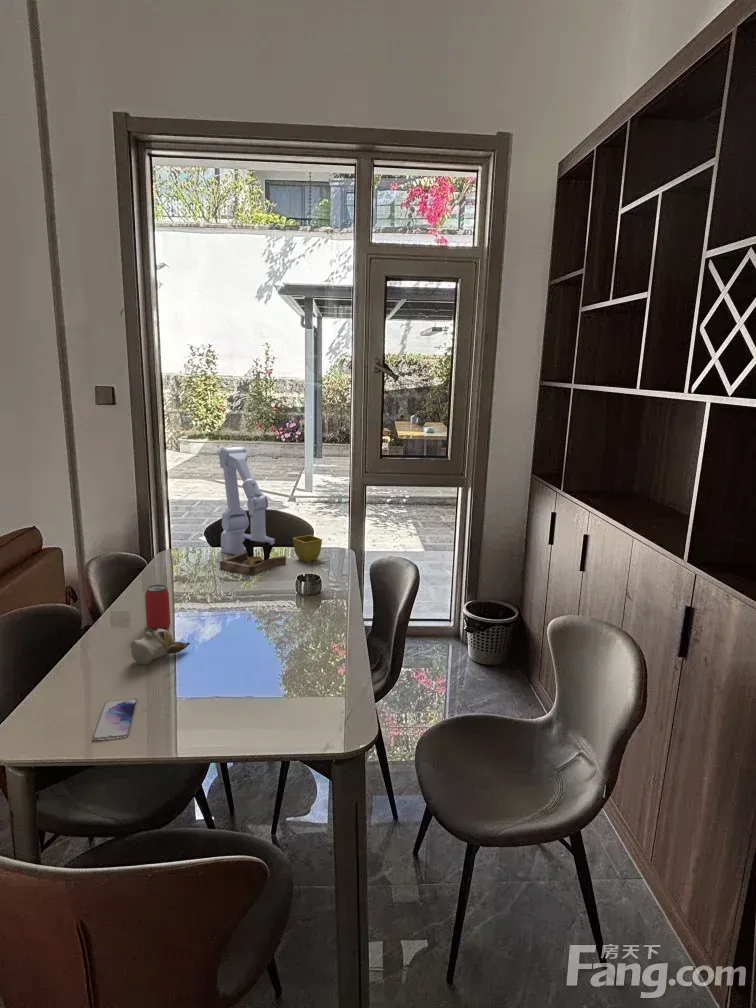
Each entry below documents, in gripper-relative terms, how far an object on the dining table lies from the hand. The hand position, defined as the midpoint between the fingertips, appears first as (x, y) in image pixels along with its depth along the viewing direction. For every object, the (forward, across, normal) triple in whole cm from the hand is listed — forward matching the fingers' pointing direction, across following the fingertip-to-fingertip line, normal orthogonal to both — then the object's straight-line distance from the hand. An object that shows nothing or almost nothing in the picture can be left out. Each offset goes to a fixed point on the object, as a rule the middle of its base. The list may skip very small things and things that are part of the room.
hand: (258, 559), depth 241 cm
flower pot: (+2, -14, -13) cm, 20 cm away
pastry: (+2, -1, +4) cm, 4 cm away
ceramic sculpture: (+2, -28, +78) cm, 83 cm away
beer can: (+2, -13, +64) cm, 65 cm away
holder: (+1, 0, +4) cm, 5 cm away
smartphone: (+2, -43, +104) cm, 113 cm away
